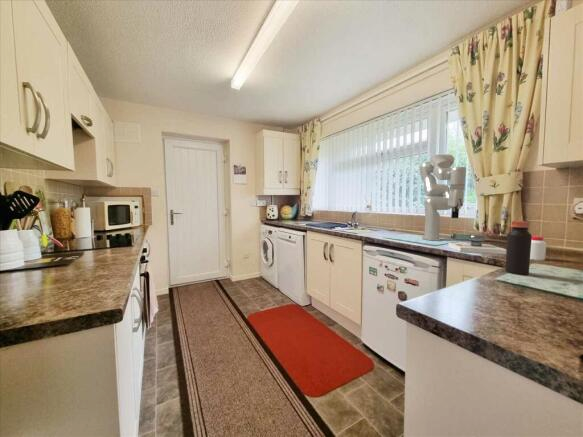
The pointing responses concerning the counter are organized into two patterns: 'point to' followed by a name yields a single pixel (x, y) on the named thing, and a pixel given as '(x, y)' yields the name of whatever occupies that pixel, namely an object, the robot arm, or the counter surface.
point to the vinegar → (518, 248)
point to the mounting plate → (477, 248)
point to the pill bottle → (538, 248)
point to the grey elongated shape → (471, 238)
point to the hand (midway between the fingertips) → (454, 218)
